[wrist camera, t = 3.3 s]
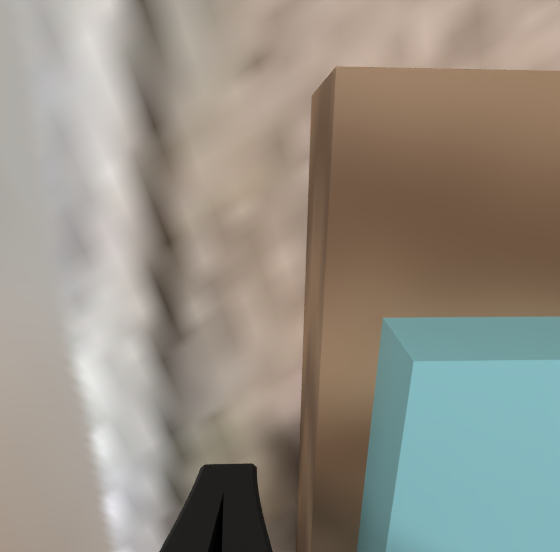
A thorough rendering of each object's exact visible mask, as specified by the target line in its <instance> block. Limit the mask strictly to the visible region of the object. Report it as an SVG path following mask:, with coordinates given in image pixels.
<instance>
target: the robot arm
mask: <svg viewBox="0 0 560 552" xmlns="http://www.w3.org/2000/svg"><path fill="white" fill-rule="evenodd" d="M159 552H273V551H272V548H271V544H270V541H269V537H268V533H267V530H266V526H265V522H264V518H263V513H262V508H261V503H260V498H259V492H258V485H257V467H256V466H255V465H254V464H210V465H204V466H203V467H201V468H200V471H199V473H198V476H197V478H196V481H195V483H194V485H193V488H192V490H191V492H190V494H189V496H188V498H187V500H186V502H185V504H184V506H183V508H182V510H181V512H180V514H179V516H178V518H177V520H176V522H175V524H174V526H173V528H172V529H171V531H170V533H169V535H168V537H167V539H166V540H165V542H164V544H163V546H162V548H161V550H160V551H159Z"/></svg>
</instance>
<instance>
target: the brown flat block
mask: <svg viewBox="0 0 560 552" xmlns="http://www.w3.org/2000/svg"><path fill="white" fill-rule="evenodd" d="M558 316H560V71H530V70H481V69H432V68H383V67H335V69H334V70H333V71H332V72H331V73H330V75H329V76H328V77H327V78H326V79H325V81H324V82H323V83H322V84H321V85H320V87H319V88H318V89H317V90H316V91H315V93H314V94H313V95H312V108H311V137H310V166H309V194H308V223H307V251H306V280H305V309H304V337H303V366H302V394H301V423H300V452H299V480H298V509H297V537H296V552H357V545H358V536H359V527H360V518H361V509H362V500H363V491H364V482H365V473H366V464H367V455H368V446H369V437H370V428H371V419H372V410H373V401H374V392H375V384H376V375H377V366H378V357H379V348H380V339H381V330H382V321H383V318H415V317H558Z"/></svg>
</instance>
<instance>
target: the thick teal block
mask: <svg viewBox="0 0 560 552" xmlns="http://www.w3.org/2000/svg"><path fill="white" fill-rule="evenodd" d="M357 552H560V316H558V317H415V318H383V321H382V330H381V339H380V348H379V357H378V366H377V375H376V384H375V392H374V401H373V410H372V419H371V428H370V437H369V446H368V455H367V464H366V473H365V482H364V491H363V500H362V509H361V518H360V527H359V536H358V545H357Z"/></svg>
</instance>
